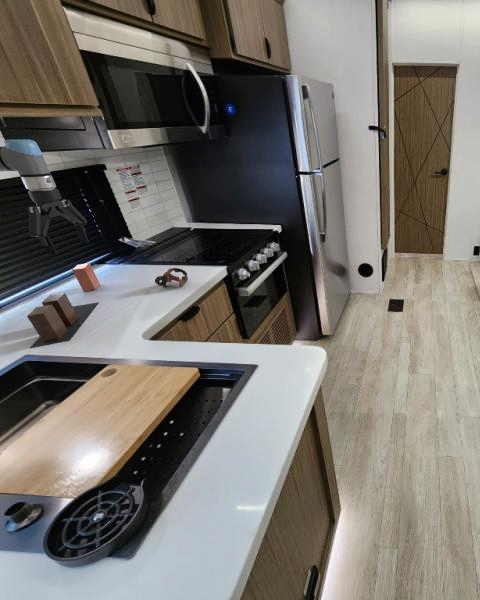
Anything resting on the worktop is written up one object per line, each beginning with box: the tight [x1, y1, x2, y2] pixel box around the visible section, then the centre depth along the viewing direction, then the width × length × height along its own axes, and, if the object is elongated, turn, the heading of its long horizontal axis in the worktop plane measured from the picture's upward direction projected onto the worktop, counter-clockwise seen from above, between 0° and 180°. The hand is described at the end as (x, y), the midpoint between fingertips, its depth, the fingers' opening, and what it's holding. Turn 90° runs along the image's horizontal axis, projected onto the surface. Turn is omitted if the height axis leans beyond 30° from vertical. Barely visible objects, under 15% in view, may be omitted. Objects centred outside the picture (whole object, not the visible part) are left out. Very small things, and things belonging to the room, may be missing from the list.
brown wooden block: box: [41, 292, 79, 327], centre depth 113 cm, size 4×6×10 cm
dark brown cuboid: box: [26, 305, 68, 343], centre depth 105 cm, size 4×6×10 cm
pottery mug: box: [154, 267, 189, 288], centre depth 140 cm, size 12×10×8 cm
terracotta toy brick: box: [71, 262, 101, 293], centre depth 138 cm, size 4×6×10 cm
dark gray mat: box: [29, 301, 100, 349], centre depth 115 cm, size 28×10×1 cm, turn 23°
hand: (70, 248), depth 124 cm, fingers open, 13 cm apart
